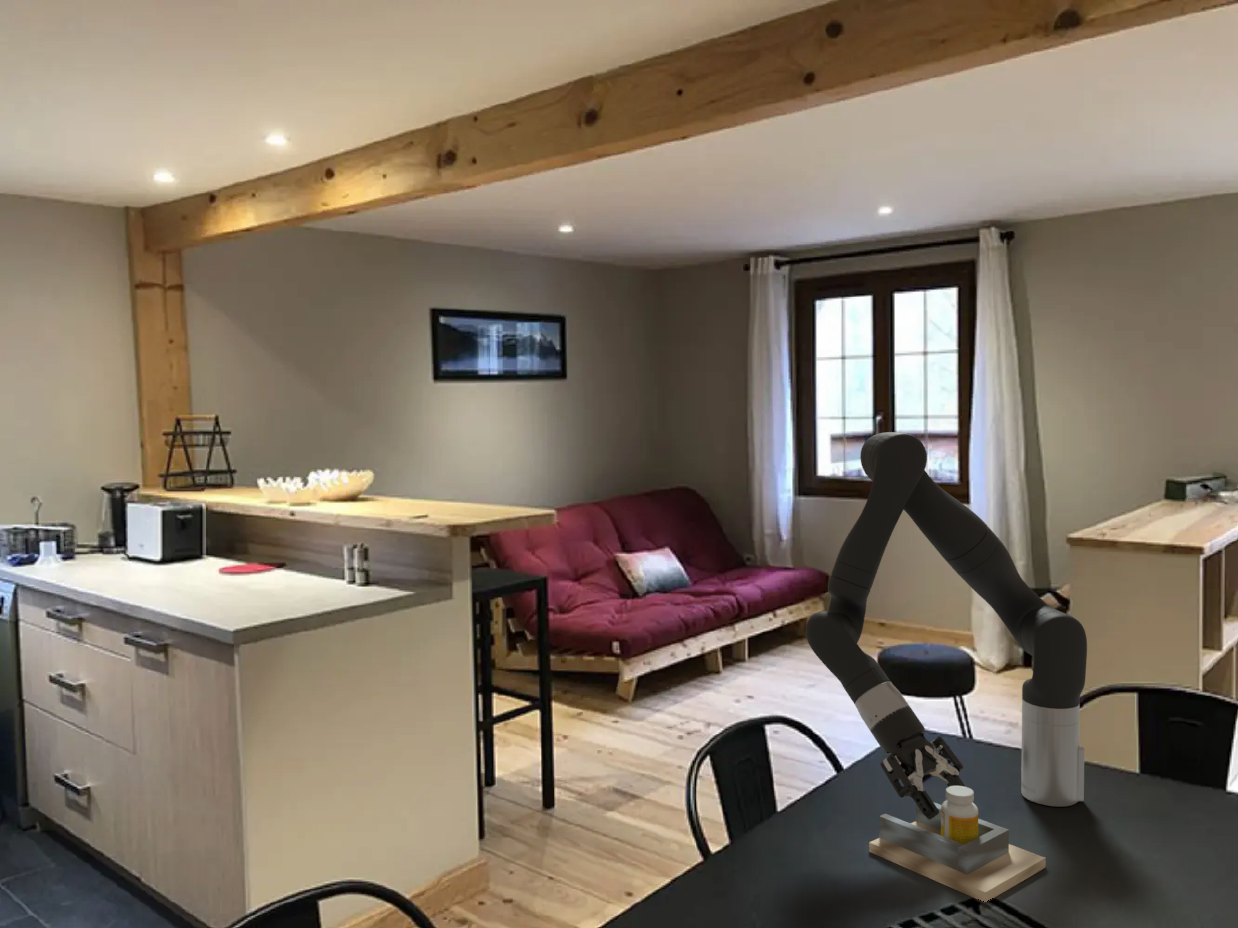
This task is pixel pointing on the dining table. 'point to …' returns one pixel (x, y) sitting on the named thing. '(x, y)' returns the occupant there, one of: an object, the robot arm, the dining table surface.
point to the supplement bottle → (959, 815)
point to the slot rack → (956, 855)
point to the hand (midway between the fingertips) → (951, 809)
